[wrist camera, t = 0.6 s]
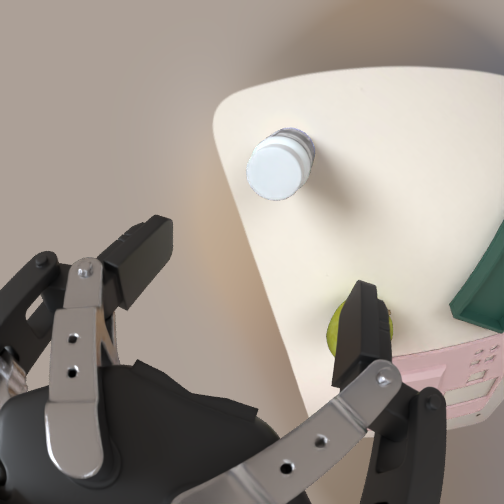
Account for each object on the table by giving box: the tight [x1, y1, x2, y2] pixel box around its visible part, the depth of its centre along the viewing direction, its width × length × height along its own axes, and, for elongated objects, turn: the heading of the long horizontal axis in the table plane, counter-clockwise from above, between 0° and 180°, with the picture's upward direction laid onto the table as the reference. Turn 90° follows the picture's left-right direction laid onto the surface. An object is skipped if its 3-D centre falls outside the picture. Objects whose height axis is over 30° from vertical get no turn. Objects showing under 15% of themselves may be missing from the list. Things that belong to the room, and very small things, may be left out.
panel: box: [367, 332, 504, 431], centre depth 39 cm, size 35×33×2 cm
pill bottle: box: [246, 128, 315, 201], centre depth 22 cm, size 5×5×8 cm
